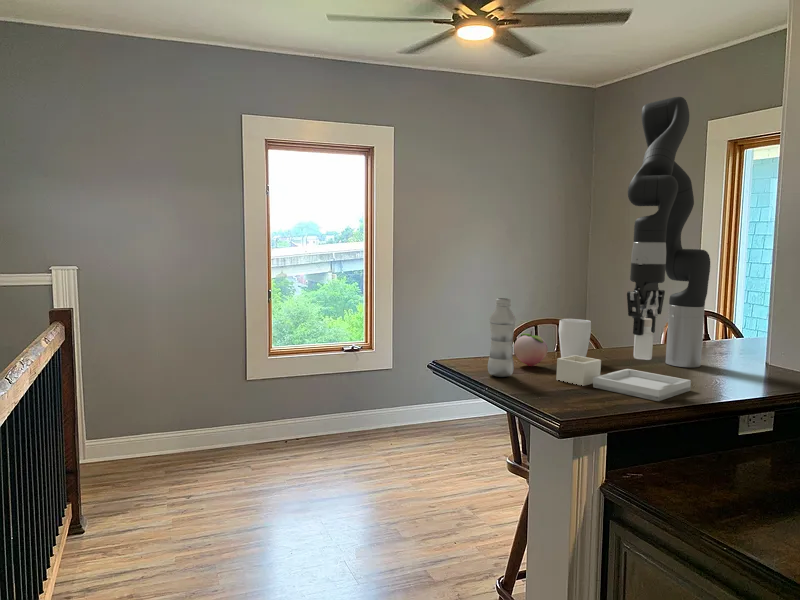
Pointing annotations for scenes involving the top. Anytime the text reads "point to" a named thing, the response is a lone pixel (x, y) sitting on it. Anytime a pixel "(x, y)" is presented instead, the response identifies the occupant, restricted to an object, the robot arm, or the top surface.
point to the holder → (578, 369)
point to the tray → (642, 384)
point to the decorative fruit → (530, 349)
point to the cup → (574, 337)
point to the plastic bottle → (501, 339)
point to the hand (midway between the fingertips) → (643, 333)
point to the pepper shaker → (644, 342)
